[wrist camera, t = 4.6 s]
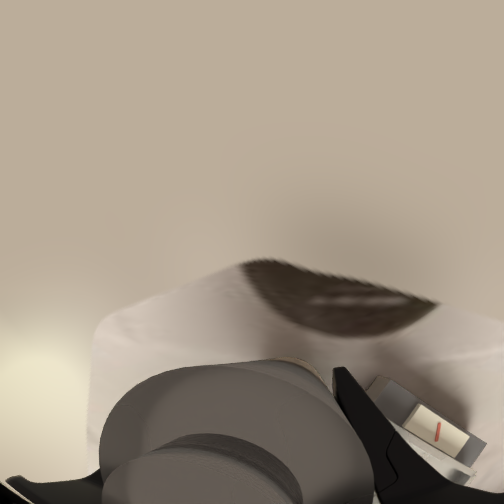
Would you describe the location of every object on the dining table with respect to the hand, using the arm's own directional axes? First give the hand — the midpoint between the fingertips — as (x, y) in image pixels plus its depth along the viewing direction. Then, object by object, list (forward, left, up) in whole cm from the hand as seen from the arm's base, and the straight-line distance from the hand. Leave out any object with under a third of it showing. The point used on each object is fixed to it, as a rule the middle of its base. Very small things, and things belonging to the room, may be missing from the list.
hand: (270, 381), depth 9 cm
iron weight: (-1, +1, -7) cm, 7 cm away
